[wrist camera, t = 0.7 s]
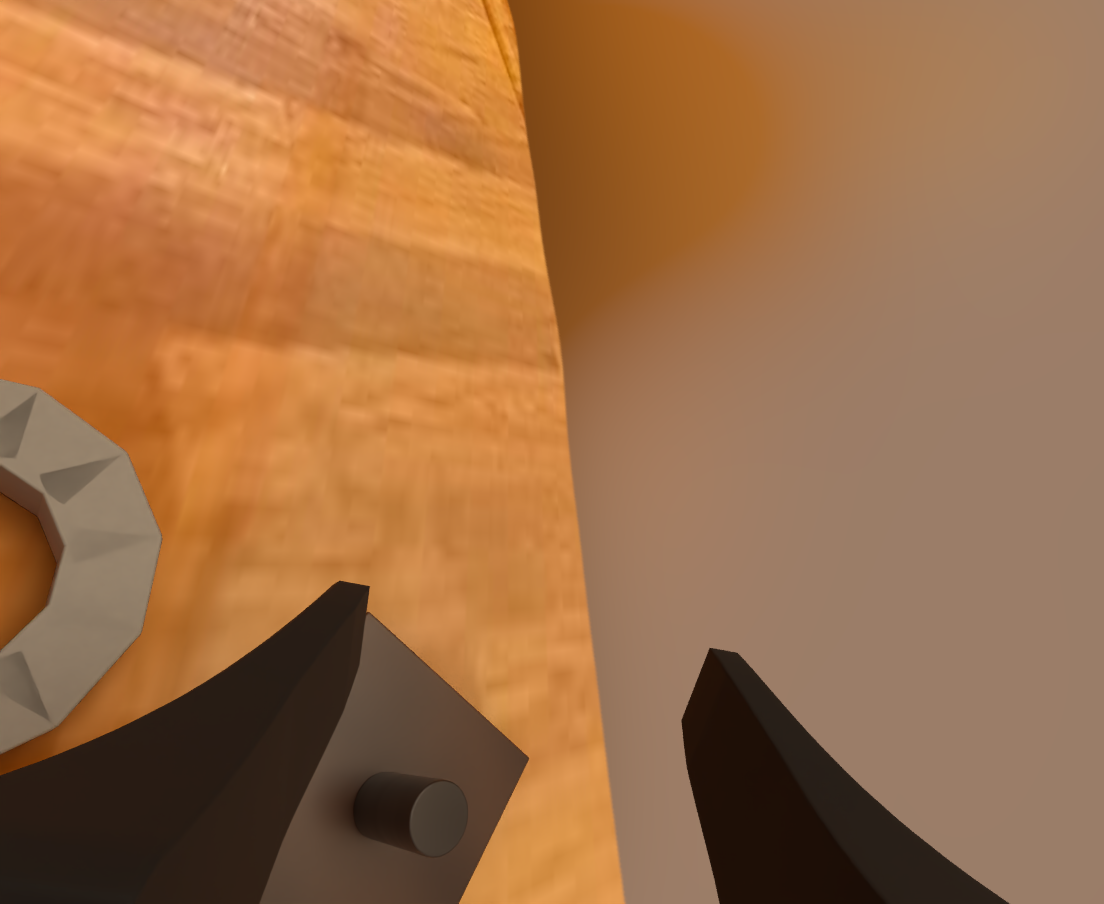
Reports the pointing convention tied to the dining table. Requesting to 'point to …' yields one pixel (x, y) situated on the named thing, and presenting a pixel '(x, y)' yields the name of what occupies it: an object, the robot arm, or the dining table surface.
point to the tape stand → (397, 791)
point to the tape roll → (71, 559)
